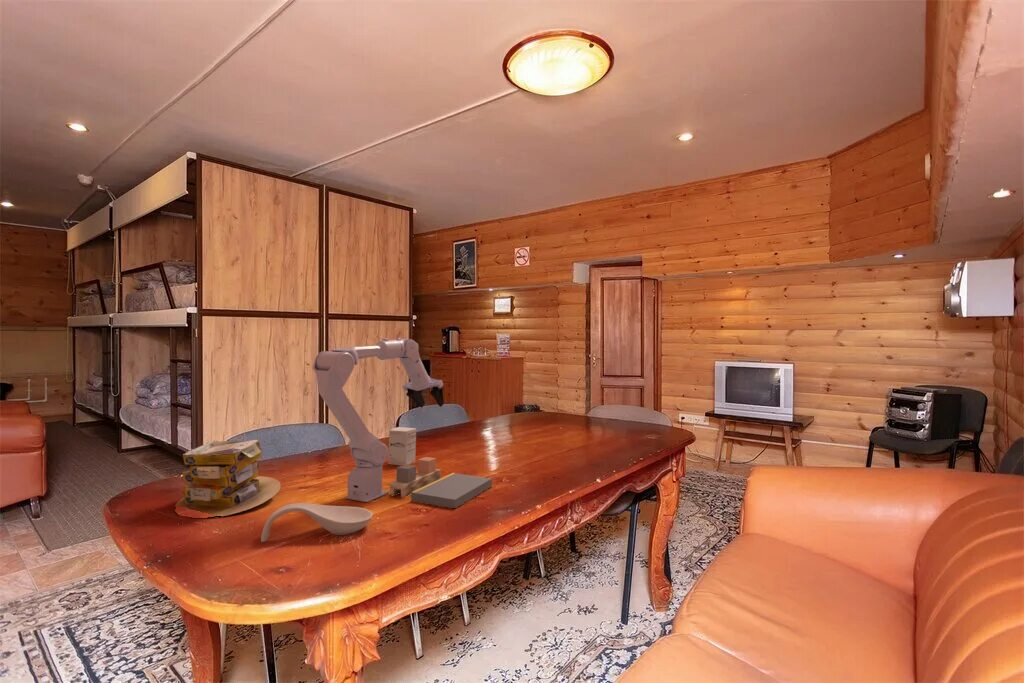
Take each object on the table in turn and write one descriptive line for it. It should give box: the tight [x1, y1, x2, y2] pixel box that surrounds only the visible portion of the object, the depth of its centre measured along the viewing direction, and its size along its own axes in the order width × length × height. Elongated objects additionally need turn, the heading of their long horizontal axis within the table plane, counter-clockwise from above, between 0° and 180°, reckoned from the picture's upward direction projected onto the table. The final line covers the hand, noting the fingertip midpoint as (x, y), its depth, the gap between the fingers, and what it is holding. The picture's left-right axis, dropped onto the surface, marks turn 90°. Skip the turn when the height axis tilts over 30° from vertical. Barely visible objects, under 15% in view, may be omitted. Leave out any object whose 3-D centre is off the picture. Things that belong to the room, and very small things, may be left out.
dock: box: [410, 472, 493, 509], centre depth 139 cm, size 22×14×3 cm, turn 156°
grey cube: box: [396, 464, 417, 483], centre depth 140 cm, size 4×4×4 cm
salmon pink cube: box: [417, 456, 437, 474], centre depth 150 cm, size 4×4×4 cm
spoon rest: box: [260, 502, 374, 543], centre depth 110 cm, size 24×12×7 cm, turn 112°
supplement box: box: [388, 426, 417, 466], centre depth 174 cm, size 7×7×13 cm
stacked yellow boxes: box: [174, 439, 282, 517], centre depth 130 cm, size 25×25×17 cm
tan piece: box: [389, 468, 442, 498], centre depth 145 cm, size 19×5×4 cm, turn 156°
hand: (432, 405), depth 158 cm, fingers open, 7 cm apart
